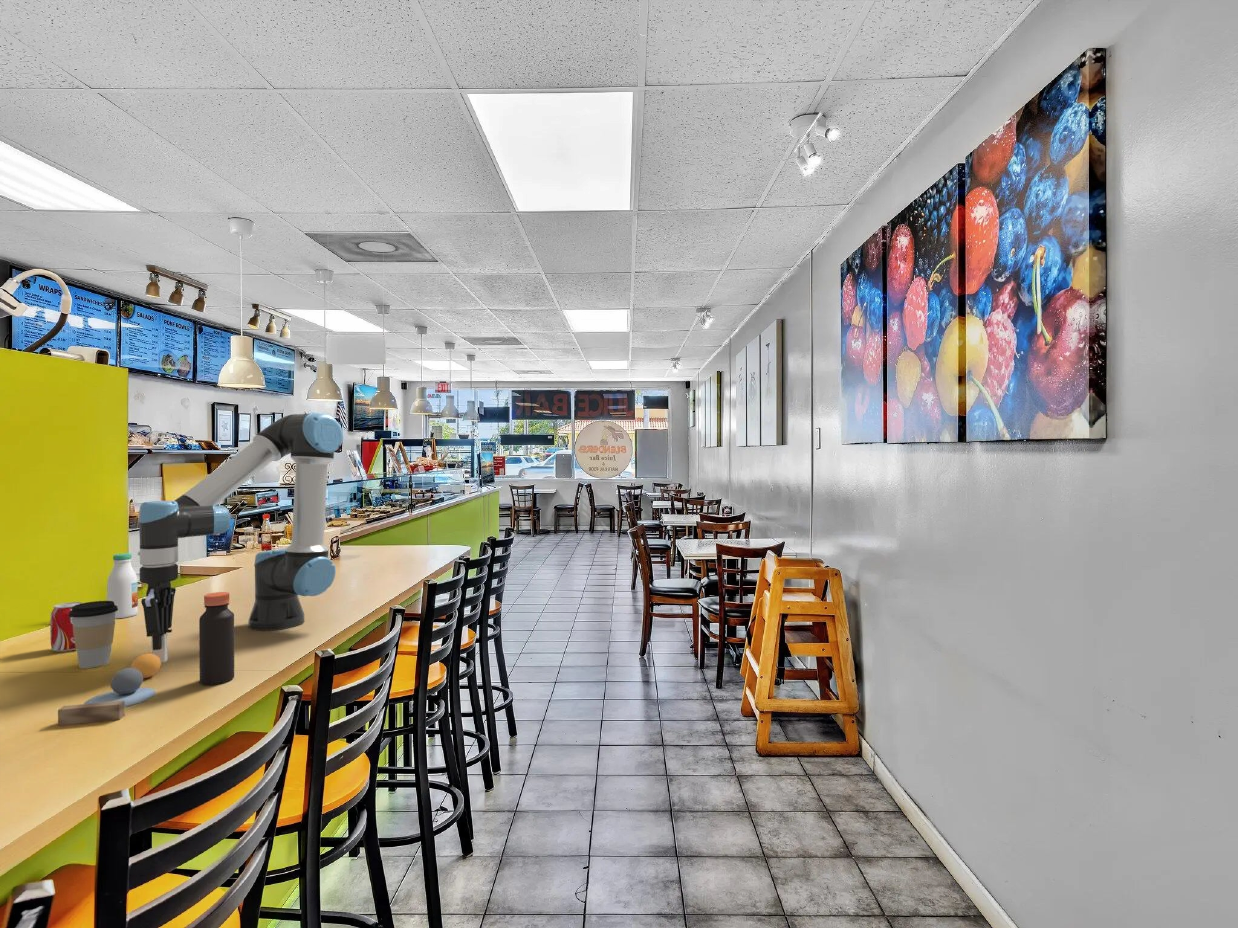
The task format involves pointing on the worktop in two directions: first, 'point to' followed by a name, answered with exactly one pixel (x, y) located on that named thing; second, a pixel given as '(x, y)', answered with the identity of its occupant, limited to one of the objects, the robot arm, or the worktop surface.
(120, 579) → the milk bottle
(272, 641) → the worktop surface
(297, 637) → the worktop surface
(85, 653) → the coffee cup
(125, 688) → the ball
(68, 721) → the brown wooden block
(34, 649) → the worktop surface
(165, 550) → the robot arm
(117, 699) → the mark
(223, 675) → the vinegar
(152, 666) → the ball
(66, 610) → the soda can
